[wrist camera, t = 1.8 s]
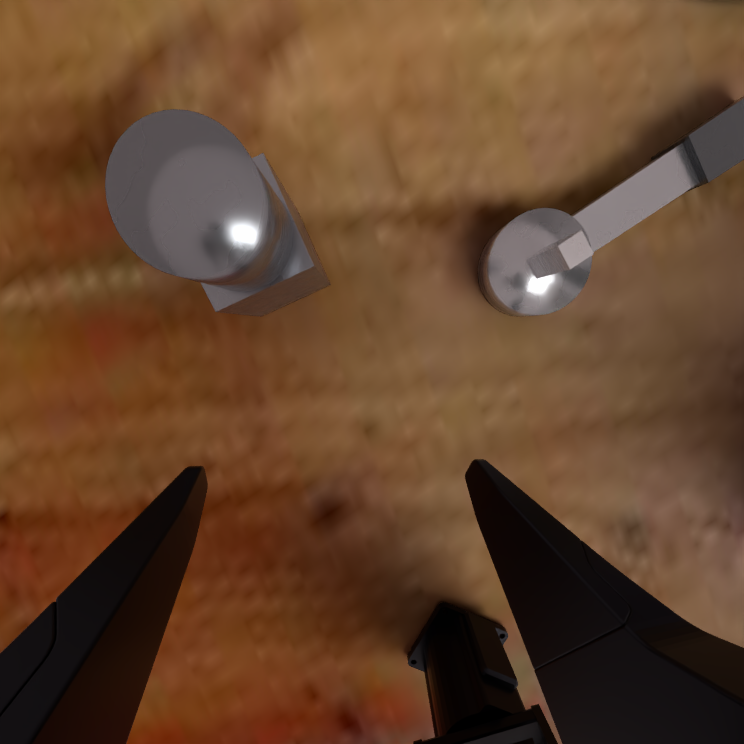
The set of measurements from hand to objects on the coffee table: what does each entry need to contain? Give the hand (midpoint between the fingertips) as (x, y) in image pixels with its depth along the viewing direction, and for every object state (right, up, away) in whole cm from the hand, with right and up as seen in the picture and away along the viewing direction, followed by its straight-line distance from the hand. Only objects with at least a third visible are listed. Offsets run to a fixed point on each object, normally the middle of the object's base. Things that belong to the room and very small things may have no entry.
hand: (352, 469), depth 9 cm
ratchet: (+17, +14, +10) cm, 24 cm away
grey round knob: (-6, +11, +10) cm, 16 cm away
